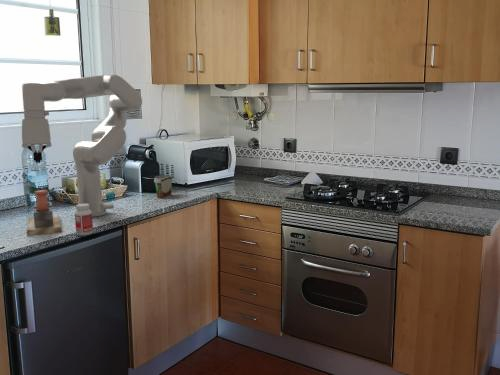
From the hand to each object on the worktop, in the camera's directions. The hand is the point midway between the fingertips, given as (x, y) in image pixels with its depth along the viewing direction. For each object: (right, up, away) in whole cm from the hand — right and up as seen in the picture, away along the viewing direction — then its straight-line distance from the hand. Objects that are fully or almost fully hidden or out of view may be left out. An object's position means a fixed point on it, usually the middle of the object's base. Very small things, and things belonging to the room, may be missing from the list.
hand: (38, 162), depth 208 cm
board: (+2, -25, +2) cm, 26 cm away
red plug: (+4, -20, -4) cm, 21 cm away
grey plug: (0, -22, +7) cm, 23 cm away
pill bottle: (+21, -27, -9) cm, 35 cm away
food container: (+38, -15, +59) cm, 72 cm away
